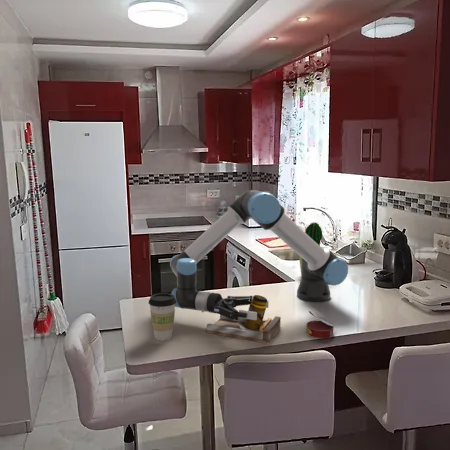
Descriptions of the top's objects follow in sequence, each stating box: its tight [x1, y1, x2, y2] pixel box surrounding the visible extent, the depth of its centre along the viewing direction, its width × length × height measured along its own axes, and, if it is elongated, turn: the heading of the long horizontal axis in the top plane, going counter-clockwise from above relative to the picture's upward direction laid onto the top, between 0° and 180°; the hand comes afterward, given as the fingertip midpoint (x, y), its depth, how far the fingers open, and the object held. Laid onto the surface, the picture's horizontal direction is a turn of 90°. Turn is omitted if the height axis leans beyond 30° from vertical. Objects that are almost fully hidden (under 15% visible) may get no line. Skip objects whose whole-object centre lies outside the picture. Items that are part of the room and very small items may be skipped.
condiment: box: [238, 294, 268, 332], centre depth 165 cm, size 7×8×12 cm
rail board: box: [205, 314, 282, 344], centre depth 167 cm, size 24×15×4 cm, turn 67°
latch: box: [260, 317, 273, 333], centre depth 163 cm, size 1×10×3 cm, turn 157°
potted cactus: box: [298, 221, 324, 271], centre depth 235 cm, size 15×15×30 cm
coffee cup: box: [148, 292, 176, 341], centre depth 160 cm, size 10×10×15 cm
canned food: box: [305, 310, 335, 339], centre depth 165 cm, size 11×10×10 cm
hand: (262, 310), depth 163 cm, fingers open, 13 cm apart
